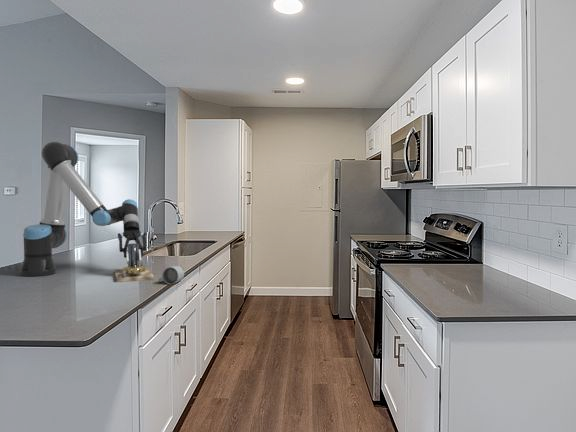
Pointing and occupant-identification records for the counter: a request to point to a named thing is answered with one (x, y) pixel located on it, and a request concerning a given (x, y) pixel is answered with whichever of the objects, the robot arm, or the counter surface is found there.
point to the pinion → (133, 254)
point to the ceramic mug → (172, 275)
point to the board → (123, 276)
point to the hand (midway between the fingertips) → (134, 261)
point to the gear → (134, 269)
